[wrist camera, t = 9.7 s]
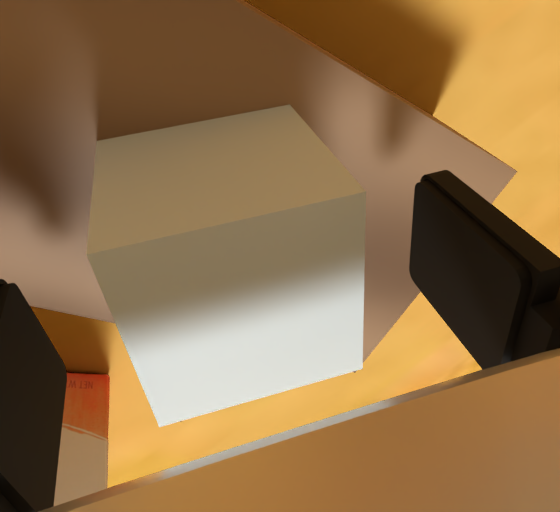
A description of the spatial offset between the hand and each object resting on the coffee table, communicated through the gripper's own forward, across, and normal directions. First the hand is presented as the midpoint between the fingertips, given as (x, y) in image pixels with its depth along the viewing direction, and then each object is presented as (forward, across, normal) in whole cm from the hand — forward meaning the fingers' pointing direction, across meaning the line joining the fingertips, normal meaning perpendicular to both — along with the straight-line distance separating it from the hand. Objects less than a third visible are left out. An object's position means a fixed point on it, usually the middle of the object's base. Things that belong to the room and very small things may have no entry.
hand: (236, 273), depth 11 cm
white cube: (+3, 0, 0) cm, 3 cm away
